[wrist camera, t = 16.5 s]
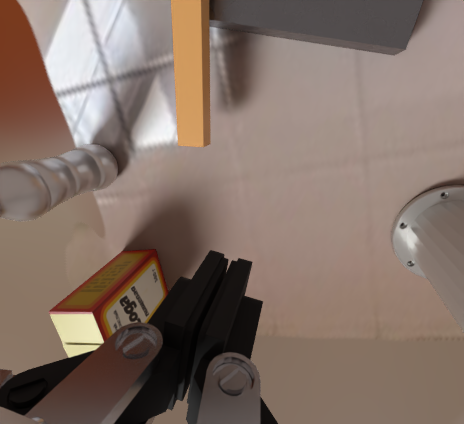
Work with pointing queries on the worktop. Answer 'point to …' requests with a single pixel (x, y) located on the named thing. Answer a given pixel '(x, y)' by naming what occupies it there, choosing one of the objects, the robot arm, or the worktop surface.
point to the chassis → (323, 21)
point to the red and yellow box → (110, 301)
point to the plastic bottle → (53, 180)
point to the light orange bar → (192, 71)
